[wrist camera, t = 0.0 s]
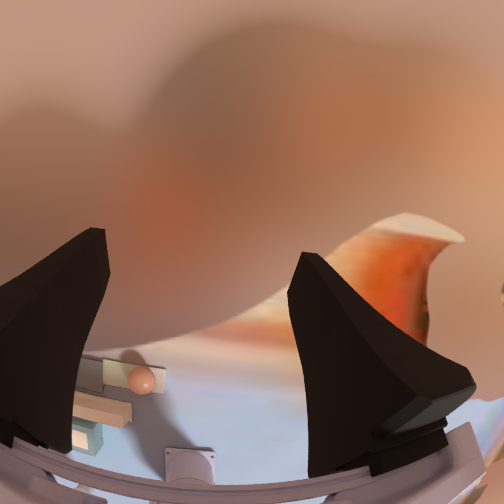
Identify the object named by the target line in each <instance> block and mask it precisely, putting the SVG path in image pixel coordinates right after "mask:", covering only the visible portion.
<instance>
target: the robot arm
mask: <svg viewBox="0 0 504 504" xmlns="http://www.w3.org/2000/svg"><path fill="white" fill-rule="evenodd" d="M109 277H110V268H109V260H108V252H107V245H106V235H105V229H99V228H91V227H90V228H89V229H87V230H85V231H83V232H82V233H80V234H79V235H77V236H76V237H74V238H73V239H71V240H70V241H69V242H67V243H66V244H64V245H63V246H61V247H60V248H58V249H57V250H56V251H54V252H53V253H51V254H50V255H49V256H47V257H46V258H44V259H43V260H41V261H40V262H38V263H37V264H35V265H34V266H33V267H31V268H30V269H28V270H27V271H25V272H23V273H22V274H20V275H19V276H17V277H15V278H14V279H12V280H11V281H9V282H7V283H5V284H4V285H2V286H0V504H107V500H106V499H104V498H101V497H97V496H94V495H91V494H87V493H84V492H81V491H78V490H75V489H72V488H69V487H66V486H63V485H61V484H59V483H57V481H56V480H55V477H54V476H53V475H52V474H54V475H57V476H59V477H62V478H65V479H67V480H70V481H73V482H76V483H79V484H82V485H85V486H88V487H92V488H95V489H99V490H102V491H106V492H110V493H114V494H118V495H123V496H127V497H132V498H138V499H143V500H149V501H150V504H276V503H285V502H292V501H299V500H305V499H310V498H316V497H321V496H326V495H328V496H327V497H326V499H325V501H324V502H323V503H321V504H450V503H451V502H452V501H453V500H454V499H455V498H457V497H458V496H459V495H460V494H461V493H462V492H464V491H465V490H466V489H467V488H468V487H470V486H471V485H472V484H473V483H475V482H476V481H477V480H478V479H480V478H481V477H482V476H483V475H484V474H486V472H487V470H486V467H485V463H484V460H483V457H482V454H481V451H480V448H479V445H478V442H477V439H476V437H475V434H474V431H473V429H472V426H471V423H470V422H467V423H465V424H463V425H461V426H459V427H457V428H455V429H453V430H451V431H449V432H448V433H446V434H445V432H444V430H443V428H444V427H446V426H447V424H448V423H447V420H446V416H447V415H449V414H450V413H451V412H453V411H454V410H455V409H457V408H458V407H459V406H460V405H462V404H463V403H464V402H465V401H466V400H468V399H469V398H470V397H471V396H472V395H473V393H474V392H475V390H476V384H475V382H474V380H473V378H472V376H471V374H470V372H469V370H468V369H467V368H466V367H464V366H462V365H460V364H458V363H455V362H453V361H452V360H449V359H447V358H445V357H443V356H441V355H439V354H438V353H436V352H434V351H432V350H431V349H429V348H427V347H426V346H424V345H422V344H421V343H419V342H418V341H416V340H415V339H413V338H412V337H410V336H409V335H407V334H406V333H404V332H403V331H402V330H400V329H399V328H397V327H396V326H395V325H394V324H392V323H391V322H390V321H389V320H387V319H386V318H385V317H384V316H382V315H381V314H380V313H379V312H378V311H376V310H375V309H374V308H373V307H372V306H371V305H370V304H369V303H368V302H366V301H365V300H364V299H363V298H362V297H361V296H360V295H359V294H358V293H357V292H356V291H355V290H354V289H353V288H352V287H351V286H350V285H349V284H348V283H347V282H346V281H345V280H344V279H343V278H342V277H341V276H340V275H339V274H338V273H337V272H336V271H335V270H334V269H333V268H332V267H331V266H330V265H329V264H328V263H327V262H326V261H325V260H324V259H323V258H322V257H320V256H319V255H318V254H317V253H308V252H302V253H301V256H300V258H299V261H298V264H297V267H296V270H295V272H294V275H293V278H292V281H291V283H290V286H289V289H288V291H287V296H288V307H289V315H290V320H291V324H292V328H293V332H294V336H295V340H296V344H297V348H298V352H299V356H300V360H301V364H302V370H303V375H304V383H305V392H306V402H307V415H308V477H309V479H303V480H296V481H288V482H279V483H268V484H252V485H215V458H216V453H215V452H214V451H204V450H189V449H178V448H169V447H167V448H165V470H166V481H160V480H153V479H146V478H140V477H135V476H130V475H125V474H120V473H116V472H112V471H107V470H103V469H100V468H96V467H92V466H89V465H86V464H82V463H79V462H76V461H73V460H70V459H67V458H64V457H61V456H59V455H56V454H53V453H51V452H48V451H46V450H43V449H41V448H39V447H38V445H39V446H41V447H43V448H46V449H48V448H50V449H52V450H55V451H58V452H60V453H63V454H67V453H69V452H70V451H71V450H72V415H73V403H74V394H75V387H76V380H77V375H78V370H79V365H80V360H81V356H82V352H83V349H84V345H85V342H86V340H87V337H88V334H89V332H90V329H91V326H92V324H93V322H94V319H95V317H96V314H97V312H98V309H99V307H100V304H101V302H102V300H103V297H104V294H105V291H106V287H107V284H108V280H109ZM167 452H169V453H167ZM212 455H213V456H214V457H211V456H212ZM51 473H52V474H51ZM330 494H331V495H330Z"/></svg>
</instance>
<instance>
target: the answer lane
mask: <svg viewBox="0 0 504 504" xmlns="http://www.w3.org/2000/svg"><path fill="white" fill-rule="evenodd" d="M138 366H140V365H134V364H128V363H122V362H117V361H112V360H106V359H103V384H107V385H112V386H117V387H122V388H127V389H130V388H129V386H128V383H127V376H128V374H129V372H130V371H132V370H133V369H134V368H136V367H138ZM144 367H146V366H144ZM147 368H149V369H150V370H151V371H152V372H153V373H154V375H155V380H156V381H155V385H154V387H153V389H152V390H151V391H150V392H151V393H158V394H165V384H166V369H161V368H153V367H147Z"/></svg>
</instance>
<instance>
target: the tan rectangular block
mask: <svg viewBox="0 0 504 504" xmlns="http://www.w3.org/2000/svg"><path fill="white" fill-rule="evenodd" d="M72 416H76V417H79V418H82V419H86V420H90V421H93V422H97V423H101V424H106V425H110V426H114V427H119V428H124V426H125V425H126V423H127V422H132V403H129V402H124V401H119V400H114V399H109V398H105V397H100V396H96V395H92V394H88V393H84V392H80V391H77V390H75V394H74V403H73V415H72Z"/></svg>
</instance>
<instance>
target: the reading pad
mask: <svg viewBox="0 0 504 504" xmlns="http://www.w3.org/2000/svg"><path fill="white" fill-rule="evenodd" d="M76 387H80V388H84V389H88V390H92V391H96V392H100V393H103V362H101V361H96V360H92V359H87V358H83V357H81V360H80V365H79V370H78V375H77V380H76Z"/></svg>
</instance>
